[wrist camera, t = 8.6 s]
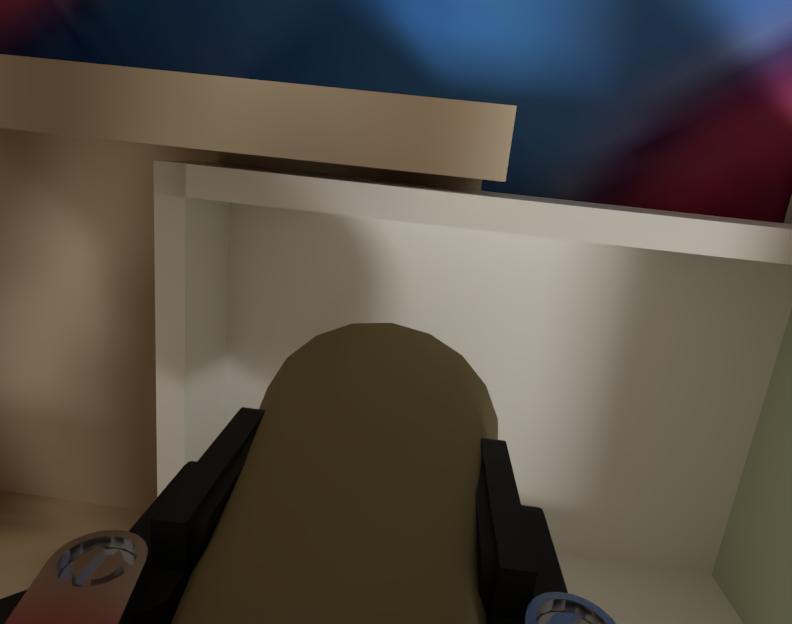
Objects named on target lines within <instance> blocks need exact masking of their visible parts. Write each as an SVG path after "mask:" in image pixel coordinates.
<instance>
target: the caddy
mask: <svg viewBox="0 0 792 624" xmlns="http://www.w3.org/2000/svg"><path fill="white" fill-rule="evenodd" d="M516 109H517V106H514V105H504V104H494V103H484V102H474V101H464V100H454V99H444V98H434V97H424V96H414V95H404V94H394V93H384V92H374V91H365V90H355V89H345V88H335V87H325V86H315V85H305V84H295V83H285V82H275V81H265V80H255V79H245V78H235V77H225V76H215V75H205V74H195V73H185V72H175V71H165V70H155V69H145V68H135V67H125V66H115V65H105V64H95V63H85V62H75V61H65V60H55V59H45V58H35V57H25V56H15V55H5V54H0V599H2V598H4V597H7V596H10V595H13V594H16V593H18V592H21V591H24V590H27V589H28V588H29V587H30V585H31V584H32V582H33V581H34V580H35V578H36V577H37V575H38V574H39V572H40V571H41V569H42V568H43V566H44V565H45V563H46V562H47V560H48V559H49V558H50V557H51V556H52V555H53V554H54V553H55V552H56V551H57V550H58V549H59V548H61V547H62V546H64V545H65V544H67V543H68V542H69V541H72V540H74V539H76V538H78V537H81V536H83V535H86V534H90V533H94V532H98V531H105V530H122V531H129V530H130V529H131V528H132V527H133V525H134V524H135V523H136V522H137V521H138V519H139V518H140V517H141V516H142V515H143V514H144V512H145V511H146V510H147V509H148V508H149V507H150V505H151V504H152V503H153V502H154V501H155V499H156V498H157V426H156V340H155V255H154V170H153V160H164V161H203V162H221V163H230V164H239V165H248V166H258V167H267V168H276V169H285V170H295V171H304V172H313V173H322V174H332V175H341V176H350V177H359V178H369V179H378V180H387V181H396V182H406V183H415V184H424V185H434V186H443V187H452V188H461V189H471V190H480V191H481V185H482V179H483V180H492V181H502V182H506V175H507V168H508V162H509V155H510V149H511V142H512V135H513V129H514V122H515V115H516Z"/></svg>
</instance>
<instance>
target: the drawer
mask: <svg viewBox="0 0 792 624" xmlns="http://www.w3.org/2000/svg"><path fill="white" fill-rule="evenodd" d="M153 170H154V255H155V340H156V426H157V497H158V496H159V495H160V494H161V492H162V491H163V490H164V489H165V488H166V486H167V485H168V484H169V483H170V482H171V481H172V479H173V478H174V477H175V476H176V475H177V473H178V472H179V471H180V470H181V469H182V468H183V466H184V465H185V464H187V463H188V462H189V461H196V462H197V461H198V460H199V459H200V458H201V456H202V455H203V454H204V453H205V451H206V450H207V449H208V448H209V446H210V445H211V444H212V443H213V442H214V440H215V439H216V438H217V437H218V435H219V434H220V433H221V432H222V431H223V429H224V428H225V427H226V426H227V424H228V423H229V422H230V421H231V419H232V418H233V417H234V416H235V415H236V413H237V412H238V411H239V410H240V409H241V408H242V407H245V408H253V409H259V407H260V405H261V402H262V400H263V398H264V395H265V393H266V390H267V388H268V386H269V385H270V383H271V381H272V380H273V378H274V377H275V375H276V374H277V372H278V371H279V369H280V368H281V366H282V365H283V363H284V362H285V360H286V358H287V357H289V356H290V355H291V354H293V353H294V352H295V351H297V350H298V349H299V348H300V347H302V346H303V345H304V344H306V343H307V342H308V341H310V340H311V339H312V338H314V337H315V336H317V335H319V334H322V333H325V332H328V331H331V330H334V329H337V328H340V327H343V326H346V325H349V324H352V323H394V324H398V325H401V326H404V327H408V328H411V329H415V330H418V331H422V332H425V333H428V334H431V335H432V336H434V337H435V338H437V339H438V340H440V341H441V342H443V343H444V344H446V345H447V346H449V347H450V348H452V349H453V350H455V351H456V352H458V353H459V354H461V355H462V356H463V357H464V358H465V359H466V361H467V362H468V363H469V365H470V366H471V367H472V368H473V370H474V371H475V372H476V373H477V375H478V376H479V377H480V378H481V380H482V381H483V382H484V384H485V385H486V387H487V390H488V393H489V395H490V398H491V401H492V404H493V407H494V410H495V412H496V415H497V418H498V440H503V441H506V444H507V448H508V452H509V456H510V460H511V465H512V469H513V473H514V477H515V481H516V485H517V489H518V494H519V498H520V502H521V505H526V506H533V507H540V508H542V510H543V512H544V515H545V518H546V521H547V525H548V528H549V531H550V535H551V538H552V541H553V545H554V548H555V551H556V555H557V558H558V561H559V565H560V568H561V571H562V574H563V578H564V581H565V584H566V588H567V591H568V593H570V594H574V595H577V596H579V597H582V598H584V599H587V600H589V601H590V602H592V603H594V604H595V605H597V606H598V607H600V608H601V609H602V610H604V611H605V612H606V613H607V614H608V615H609V616H610V617H611V618H612V619H613V620H614V622H615V623H616V624H792V195H791V198H790V202H789V205H788V209H787V212H786V216H785V219H784V223H776V222H767V221H758V220H748V219H739V218H730V217H721V216H711V215H702V214H693V213H684V212H674V211H665V210H656V209H646V208H637V207H628V206H619V205H609V204H600V203H591V202H582V201H572V200H563V199H554V198H545V197H535V196H526V195H517V194H508V193H498V192H489V191H480V190H471V189H461V188H452V187H443V186H434V185H424V184H415V183H406V182H396V181H387V180H378V179H369V178H359V177H350V176H341V175H332V174H322V173H313V172H304V171H295V170H285V169H276V168H267V167H258V166H248V165H239V164H230V163H221V162H203V161H164V160H153Z"/></svg>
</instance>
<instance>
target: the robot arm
mask: <svg viewBox="0 0 792 624" xmlns="http://www.w3.org/2000/svg"><path fill="white" fill-rule="evenodd" d="M264 413H265V410H261V409H253V408H245V407H242V408H241V409H240V410H239V411H238V412H237V413H236V415H235V416H234V417H233V418H232V419H231V421H230V422H229V423H228V424H227V426H226V427H225V428H224V429H223V431H222V432H221V433H220V434H219V435H218V437H217V438H216V439H215V440H214V442H213V443H212V444H211V445H210V446H209V448H208V449H207V450H206V451H205V453H204V454H203V455H202V456H201V458H200V459H199V460H198V461H197V462H196V461H189V462H188V463H187V464H185V465H184V466H183V468H182V469H181V470H180V471H179V472H178V473H177V475H176V476H175V477H174V478H173V479H172V481H171V482H170V483H169V484H168V485H167V486H166V488H165V489H164V490H163V491H162V492H161V494H160V495H159V496H158V497H157V498H156V499H155V501H154V502H153V503H152V504H151V505H150V507H149V508H148V509H147V510H146V511H145V512H144V514H143V515H142V516H141V517H140V518H139V519H138V521H137V522H136V523H135V524H134V525H133V527H132V528H131V529H130V530H129V531H122V530H105V531H98V532H94V533H90V534H86V535H83V536H81V537H78V538H76V539H74V540H72V541H69V542H68V543H67V544H65V545H64V546H62V547H61V548H59V549H58V550H57V551H56V552H55V553H54V554H53V555H52V556H51V557H50V558H49V559H48V560H47V562H46V563H45V565H44V566H43V568H42V569H41V571H40V572H39V574H38V575H37V577H36V578H35V580H34V581H33V582H32V584H31V585H30V587H29V588H28V589H27V590H24V591H21V592H18V593H16V594H13V595H10V596H7V597H4V598H2V599H0V624H171V622H172V619H173V617H174V615H175V612H176V610H177V607H178V605H179V602H180V600H181V598H182V595H183V593H184V590H185V588H186V585H187V583H188V580H189V578H190V576H191V573H192V571H193V569H194V567H195V566H196V564H197V563H198V561H199V560H200V558H201V557H202V556H203V554H204V551H205V549H206V547H207V545H208V543H209V540H210V538H211V536H212V534H213V532H214V529H215V527H216V525H217V523H218V521H219V519H220V516H221V514H222V512H223V510H224V508H225V505H226V503H227V501H228V499H229V497H230V494H231V492H232V490H233V488H234V486H235V483H236V481H237V479H238V477H239V475H240V472H241V470H242V468H243V466H244V463H245V461H246V458H247V455H248V452H249V450H250V447H251V444H252V442H253V439H254V436H255V433H256V431H257V428H258V425H259V423H260V421H261V419H262V417H263V415H264ZM481 450H482V460H481V467H480V474H479V481H478V486H477V491H476V511H477V546H478V580H479V595H480V598H481V601H482V603H483V606H484V608H485V611H486V613H487V624H616V623H615V622H614V620H613V619H612V618H611V617H610V616H609V615H608V614H607V613H606V612H605V611H604V610H602V609H601V608H600V607H598V606H597V605H595V604H594V603H592V602H590V601H589V600H587V599H584V598H582V597H579V596H577V595H574V594H570V593H568V591H567V588H566V584H565V581H564V578H563V574H562V571H561V568H560V565H559V561H558V558H557V555H556V551H555V548H554V545H553V541H552V538H551V535H550V531H549V528H548V525H547V521H546V518H545V515H544V512H543V510H542V508H540V507H533V506H526V505H521V502H520V498H519V494H518V489H517V485H516V481H515V477H514V473H513V469H512V465H511V460H510V456H509V452H508V448H507V444H506V441H503V440H495V439H487V438H481Z"/></svg>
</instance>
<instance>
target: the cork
mask: <svg viewBox="0 0 792 624" xmlns="http://www.w3.org/2000/svg"><path fill="white" fill-rule="evenodd" d="M259 409H261V410H265V413H264V415H263V417H262V419H261V421H260V423H259V425H258V428H257V431H256V433H255V436H254V439H253V442H252V444H251V447H250V450H249V452H248V455H247V458H246V461H245V463H244V466H243V468H242V470H241V472H240V475H239V477H238V479H237V481H236V483H235V486H234V488H233V490H232V492H231V494H230V497H229V499H228V501H227V503H226V505H225V508H224V510H223V512H222V514H221V516H220V519H219V521H218V523H217V525H216V527H215V529H214V532H213V534H212V536H211V538H210V540H209V543H208V545H207V547H206V549H205V551H204V554H203V556H202V557H201V558H200V560H199V561H198V563H197V564H196V566H195V567H194V569H193V571H192V573H191V576H190V578H189V580H188V583H187V585H186V588H185V590H184V593H183V595H182V598H181V600H180V602H179V605H178V607H177V610H176V612H175V615H174V617H173V619H172V622H171V624H487V613H486V611H485V608H484V606H483V603H482V601H481V598H480V595H479V580H478V546H477V511H476V491H477V486H478V481H479V474H480V467H481V460H482V450H481V438H487V439H495V440H498V418H497V415H496V412H495V410H494V407H493V404H492V401H491V398H490V395H489V393H488V390H487V387H486V385H485V384H484V382H483V381H482V380H481V378H480V377H479V376H478V375H477V373H476V372H475V371H474V370H473V368H472V367H471V366H470V365H469V363H468V362H467V361H466V359H465V358H464V357H463V356H462V355H461V354H459V353H458V352H456V351H455V350H453V349H452V348H450V347H449V346H447V345H446V344H444V343H443V342H441V341H440V340H438V339H437V338H435V337H434V336H432V335H431V334H428V333H425V332H422V331H418V330H415V329H411V328H408V327H404V326H401V325H398V324H394V323H352V324H349V325H346V326H343V327H340V328H337V329H334V330H331V331H328V332H325V333H322V334H319V335H317V336H315V337H314V338H312V339H311V340H310V341H308V342H307V343H306V344H304V345H303V346H302V347H300V348H299V349H298V350H297V351H295V352H294V353H293V354H291V355H290V356H289V357H287V358H286V360H285V362H284V363H283V365H282V366H281V368H280V369H279V371H278V372H277V374H276V375H275V377H274V378H273V380H272V381H271V383H270V385H269V386H268V388H267V390H266V393H265V395H264V398H263V400H262V402H261V405H260V407H259Z"/></svg>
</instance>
